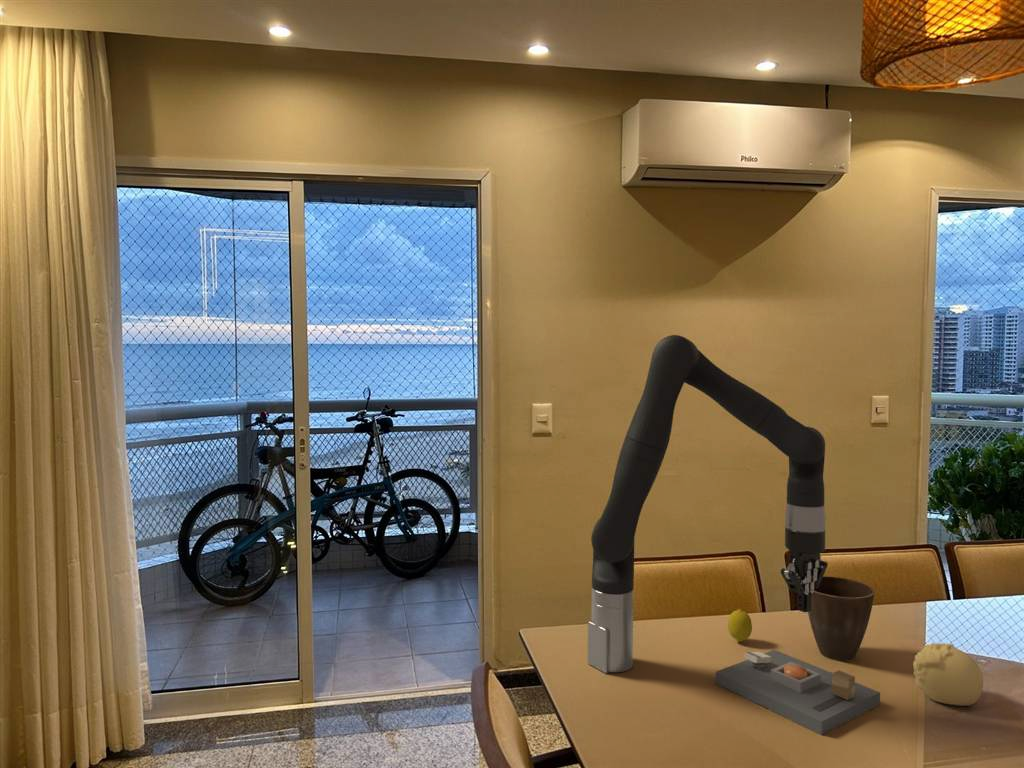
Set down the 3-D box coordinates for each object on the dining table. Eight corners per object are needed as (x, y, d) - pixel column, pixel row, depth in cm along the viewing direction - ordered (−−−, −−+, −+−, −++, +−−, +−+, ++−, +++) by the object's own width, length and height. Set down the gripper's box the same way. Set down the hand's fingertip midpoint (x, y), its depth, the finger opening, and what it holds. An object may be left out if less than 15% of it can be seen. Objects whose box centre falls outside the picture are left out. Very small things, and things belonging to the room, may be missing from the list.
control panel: (821, 735, 125) (821, 710, 125) (715, 683, 145) (715, 662, 145) (879, 704, 136) (880, 682, 136) (774, 660, 156) (774, 641, 156)
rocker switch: (756, 663, 145) (757, 656, 146) (744, 658, 148) (745, 651, 148) (770, 662, 148) (771, 656, 148) (758, 657, 151) (759, 651, 151)
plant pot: (866, 675, 149) (867, 602, 149) (794, 657, 158) (795, 588, 158) (878, 652, 161) (880, 584, 161) (811, 636, 170) (812, 572, 170)
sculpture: (917, 679, 147) (918, 629, 147) (985, 697, 140) (986, 644, 139) (907, 699, 139) (908, 646, 138) (979, 719, 131) (980, 663, 131)
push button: (798, 686, 138) (798, 676, 138) (779, 677, 141) (779, 668, 141) (811, 680, 140) (811, 670, 140) (792, 672, 144) (792, 662, 144)
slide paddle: (847, 700, 132) (847, 679, 132) (831, 693, 135) (832, 673, 135) (854, 696, 134) (854, 676, 134) (838, 690, 136) (839, 670, 136)
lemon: (753, 647, 163) (753, 614, 163) (728, 645, 164) (729, 612, 164) (750, 638, 169) (750, 606, 168) (726, 636, 170) (726, 604, 170)
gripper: (807, 518, 146) (806, 599, 147) (768, 527, 139) (767, 612, 139) (841, 525, 140) (840, 609, 140) (802, 534, 133) (801, 623, 133)
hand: (804, 610), depth 140 cm, fingers closed
